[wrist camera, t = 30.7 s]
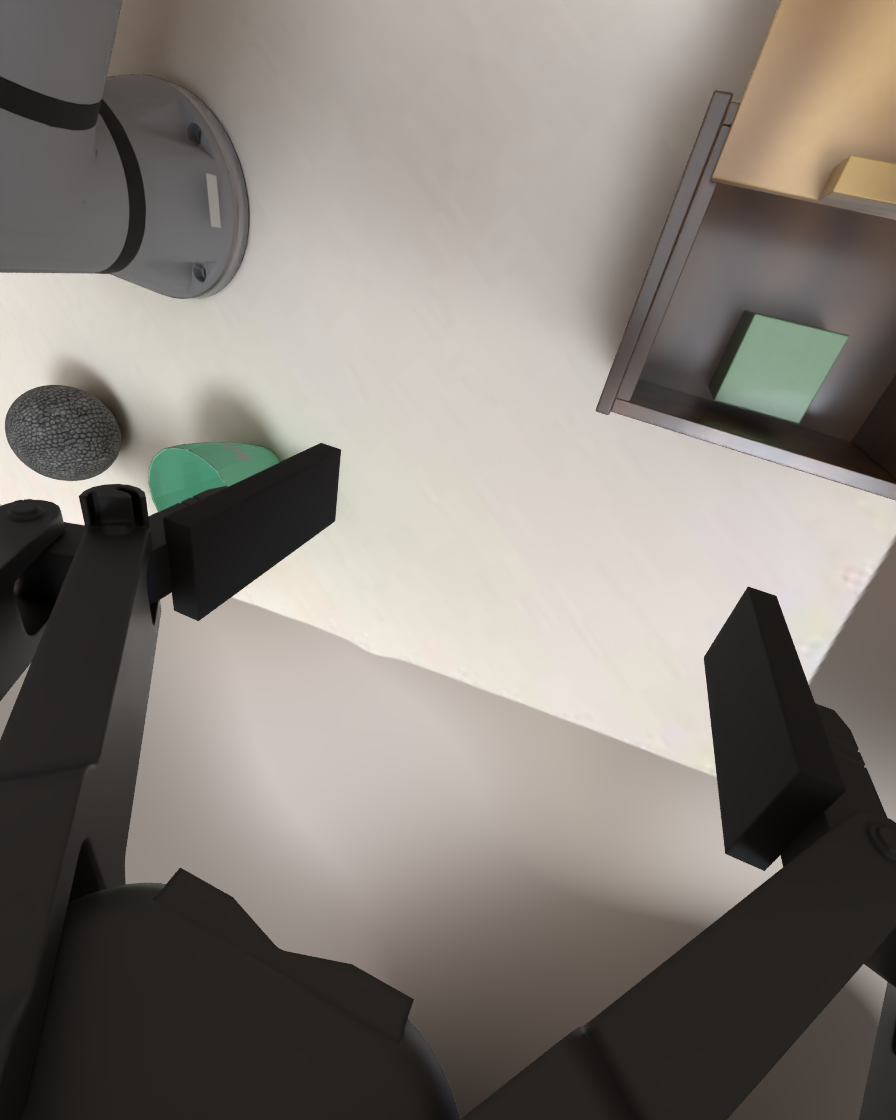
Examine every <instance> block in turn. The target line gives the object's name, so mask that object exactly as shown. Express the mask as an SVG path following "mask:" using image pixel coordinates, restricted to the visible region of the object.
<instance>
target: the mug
mask: <svg viewBox="0 0 896 1120" xmlns="http://www.w3.org/2000/svg"><path fill="white" fill-rule="evenodd" d="M278 463H280V461H279V459H278V458H277V456H276V455H275V454H274V453H273V452H272V451H270V450H269V449H267V448H265V447H260V446H254V445H248V444H242V443H228V442H205V443H194V444H182V445H178V446H173V447H168V448H165V449H162V450H161V451H160V452H159V453H158V454H157V455H155V456H154V457H153V460H152V462H151V465H150V467H149V481H148V484H149V488H150V492H151V496H152V500H153V502H154V504H155V506H156V508H157V510H158V512H160V511H162V510H164V509H166V508H168V507H170V506H173V505H175V504H177V503H180V504H181V502H182V501H184V500H186V499H188V498H190V497H191V498H193V496H195V495H197V494H199V493H201V492H203V491H205V490H208V489H213V488H218V487H223V486H228V487H229V486H231V485H233V484H235V483H237V482H239V481H242V480H244V479H246V478H248V477H250V476H252V475H254V474H256V473H258V472H261V471H263V470H265V469H267V468H269V467H271V466H273V465H275V464H278Z"/></svg>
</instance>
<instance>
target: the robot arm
mask: <svg viewBox="0 0 896 1120" xmlns="http://www.w3.org/2000/svg"><path fill="white" fill-rule="evenodd" d="M121 4H122V0H0V272H7V273H101V274H111V275H114V276H116V277H119V278H121V279H124V280H126V281H129V282H131V283H134V284H136V285H139V286H142V287H144V288H147V289H149V290H152V291H154V292H157V293H159V294H162V295H166V296H169V297H173V298H180V299H184V298H204V297H208V296H211V295H213V294H215V293H217V292H219V291H220V290H222V289H223V288H224V287H225V286H226V285H227V284H228V283H229V282H230V281H231V279H232V278H233V277H234V275H235V273H236V272H237V270H238V268H239V266H240V263H241V261H242V258H243V255H244V252H245V248H246V243H247V236H248V223H249V214H248V200H247V193H246V187H245V182H244V178H243V174H242V170H241V167H240V164H239V161H238V158H237V156H236V153H235V151H234V148H233V146H232V144H231V142H230V140H229V138H228V136H227V134H226V132H225V131H224V129H223V127H222V126H221V124H220V123H219V121H218V120H217V119H216V117H215V116H214V115H213V113H212V112H211V111H210V110H209V109H208V108H207V106H206V105H205V104H204V103H203V102H201V101H200V100H199V99H198V98H197V97H196V96H194V95H193V94H192V93H190V92H189V91H187V90H185V89H184V88H182V87H179V86H177V85H175V84H173V83H170V82H168V81H165V80H163V79H160V78H157V77H154V76H150V75H135V74H132V75H122V76H112V77H107V72H108V67H109V62H110V57H111V53H112V48H113V43H114V38H115V33H116V28H117V23H118V19H119V14H120V9H121ZM340 456H341V449H338V448H335V447H332V446H329V445H326V444H323V443H320V444H318V445H316V446H313V447H311V448H309V449H307V450H305V451H303V452H301V453H299V454H297V455H294V456H292V457H290V458H288V459H286V460H284V461H282V462H280V463H278V464H275V465H273V466H271V467H269V468H267V469H265V470H263V471H261V472H258V473H256V474H254V475H252V476H250V477H248V478H246V479H244V480H242V481H239V482H237V483H235V484H233V485H231V486H229V487H228V486H223V487H218V488H213V489H208V490H205V491H203V492H201V493H199V494H197V495H195V496H193V498H191V497H190V498H188V499H186V500H184V501H182V502H181V504H180V503H177V504H175V505H173V506H170V507H168V508H166V509H164V510H162V511H160V512H157V513H155V514H153V515H151V516H149V517H148V511H147V504H146V497H145V493H144V492H143V491H142V490H141V489H139V488H137V487H133V486H130V485H122V484H109V485H101V486H97V487H92V488H90V489H88V490H86V491H84V492H83V493H82V494H81V495H80V496H79V499H80V504H81V508H82V513H83V518H84V522H85V526H84V525H78V524H72V523H66V522H63V518H62V514H61V510H60V508H59V506H58V505H56V504H54V503H52V502H48V501H43V500H32V499H27V500H24V501H23V500H18V501H14V502H12V503H8V504H5V505H2V506H0V701H1V700H2V698H3V697H4V696H5V695H6V693H7V692H8V691H9V689H10V688H11V687H12V686H13V684H14V683H15V682H16V681H17V679H18V678H19V677H20V676H21V674H22V673H23V672H24V671H25V669H26V668H27V667H28V666H29V664H30V663H31V665H30V667H29V670H28V672H27V675H26V677H25V680H24V682H23V685H22V687H21V690H20V692H19V695H18V698H17V700H16V703H15V705H14V707H13V710H12V712H11V715H10V717H9V720H8V722H7V725H6V727H5V730H4V732H3V735H2V737H1V740H0V1120H727V1119H728V1118H729V1117H730V1115H731V1114H732V1113H733V1112H734V1111H735V1109H737V1107H738V1106H739V1105H740V1104H741V1103H742V1102H743V1101H744V1099H745V1098H746V1097H747V1096H748V1095H749V1094H750V1092H752V1090H753V1089H754V1088H755V1087H756V1086H757V1085H758V1083H759V1082H760V1081H761V1080H762V1079H763V1078H764V1077H765V1076H766V1074H767V1073H768V1072H769V1071H770V1070H771V1069H772V1068H773V1066H774V1065H775V1064H776V1063H777V1062H778V1061H779V1060H780V1058H781V1057H782V1056H783V1055H784V1054H785V1053H786V1052H787V1050H788V1049H789V1048H790V1047H791V1046H792V1045H793V1044H794V1042H795V1041H796V1040H797V1039H798V1038H799V1037H800V1035H801V1034H802V1033H803V1032H804V1031H805V1030H806V1029H807V1028H808V1027H809V1025H810V1024H811V1023H812V1022H813V1021H814V1020H815V1019H816V1017H817V1016H818V1015H819V1014H820V1013H821V1012H822V1011H823V1009H824V1008H825V1007H826V1006H827V1005H828V1004H829V1003H830V1001H831V1000H832V999H833V998H834V997H835V995H836V994H837V993H838V992H839V991H840V990H841V989H842V988H843V987H844V985H845V984H846V983H847V982H848V981H849V980H850V978H851V977H852V976H853V975H854V974H855V973H856V972H857V971H858V969H859V968H860V967H861V966H862V965H863V964H865V965H866V966H868V967H869V968H870V969H872V970H873V971H874V972H876V973H877V974H878V975H880V976H881V977H882V978H884V979H885V980H886V981H888V983H887V988H886V993H885V998H884V1002H883V1007H882V1012H881V1017H880V1022H879V1026H878V1031H877V1036H876V1041H875V1046H874V1050H873V1056H872V1060H871V1065H870V1070H869V1074H868V1079H867V1084H866V1089H865V1094H864V1098H863V1103H862V1108H861V1113H860V1118H859V1120H896V823H895V822H894V821H892V820H891V819H888V818H887V816H886V813H885V811H884V809H883V807H882V804H881V802H880V799H879V797H878V794H877V792H876V790H875V787H874V785H873V782H872V780H871V778H870V775H869V773H868V771H867V769H866V768H864V765H865V763H864V761H863V759H862V756H861V754H860V752H858V747H857V744H856V742H855V739H854V737H853V735H852V732H851V730H850V729H849V728H848V727H847V725H846V724H845V723H844V722H843V720H842V719H841V718H840V717H839V716H838V714H837V713H836V712H835V711H834V710H832V709H829V708H826V707H824V706H821V705H818V704H816V703H815V702H814V699H813V696H812V693H811V691H810V688H809V685H808V682H807V680H806V677H805V674H804V671H803V668H802V666H801V663H800V660H799V657H798V655H797V652H796V649H795V646H794V644H793V641H792V638H791V635H790V632H789V630H788V627H787V624H786V621H785V619H784V616H783V613H782V610H781V608H780V605H779V602H778V599H777V597H776V596H775V595H772V594H769V593H766V592H763V591H760V590H757V589H754V588H751V587H747V589H746V591H745V592H744V594H743V595H742V597H741V599H740V600H739V602H738V603H737V605H736V607H735V608H734V610H733V611H732V613H731V615H730V616H729V618H728V619H727V621H726V623H725V624H724V626H723V627H722V629H721V631H720V632H719V634H718V635H717V637H716V639H715V640H714V642H713V643H712V645H711V647H710V648H709V650H708V651H707V653H706V655H705V656H704V664H705V673H706V682H707V691H708V700H709V709H710V718H711V727H712V737H713V746H714V755H715V764H716V773H717V781H718V791H719V800H720V809H721V819H722V827H723V837H724V846H725V853H726V854H727V855H730V856H732V857H734V858H736V859H739V860H741V861H743V862H746V863H748V864H750V865H752V866H754V867H757V868H759V869H762V870H764V871H765V870H766V869H767V868H768V867H769V866H770V865H771V864H772V863H773V862H774V861H775V860H776V859H777V858H778V857H779V856H780V855H781V859H782V864H783V868H782V869H781V870H779V871H778V872H777V873H776V874H774V875H773V876H772V877H771V878H769V879H768V880H767V881H766V882H764V883H763V884H762V885H761V886H759V887H758V888H757V889H755V890H754V891H753V892H752V893H750V894H749V895H748V896H747V897H746V898H744V899H743V900H742V901H741V902H739V903H738V904H737V905H735V906H734V907H733V908H732V909H730V910H729V911H728V912H727V913H725V914H724V915H723V916H722V917H720V918H719V919H718V920H717V921H715V922H714V923H713V924H712V925H710V926H709V927H708V928H706V929H705V930H704V931H703V932H701V933H700V934H699V935H698V936H696V937H695V938H694V939H693V940H691V941H690V942H689V943H688V944H686V945H685V946H684V947H683V948H681V949H680V950H679V951H678V952H676V953H675V954H674V955H673V956H671V957H670V958H669V959H668V960H666V961H665V962H664V963H663V964H661V965H660V966H659V967H657V968H656V969H655V970H654V971H652V972H651V973H650V974H649V975H647V976H646V977H645V978H644V979H642V980H641V981H640V982H639V983H637V984H636V985H635V986H634V987H632V988H631V989H630V990H629V991H627V992H626V993H625V994H624V995H623V996H621V997H620V998H619V999H617V1000H616V1001H615V1002H614V1003H612V1004H611V1005H610V1006H609V1007H607V1008H606V1009H605V1010H604V1011H602V1012H601V1013H600V1014H599V1015H597V1016H596V1017H595V1018H593V1019H592V1020H591V1021H589V1022H588V1023H587V1024H586V1025H584V1026H581V1027H579V1028H577V1029H575V1030H574V1031H572V1032H571V1033H570V1034H568V1035H567V1036H566V1037H564V1038H563V1039H562V1040H560V1041H559V1042H558V1043H556V1044H555V1045H554V1046H553V1047H551V1048H550V1049H549V1050H548V1051H546V1052H545V1053H544V1054H543V1055H541V1056H540V1057H539V1058H538V1059H536V1060H535V1061H534V1062H532V1063H531V1064H530V1065H529V1066H527V1067H526V1068H525V1069H524V1070H523V1071H521V1072H520V1073H519V1074H517V1075H516V1076H515V1077H513V1078H512V1079H511V1080H510V1081H508V1082H507V1083H506V1084H505V1085H503V1086H502V1087H501V1088H500V1089H498V1090H497V1091H496V1092H494V1093H493V1094H492V1095H491V1096H489V1097H488V1098H487V1099H486V1100H484V1101H483V1102H482V1103H481V1104H479V1105H478V1106H477V1107H476V1108H474V1109H473V1110H472V1111H471V1112H469V1113H468V1114H467V1115H465V1116H464V1117H463V1118H462V1119H461V1118H460V1115H459V1112H458V1108H457V1105H456V1102H455V1098H454V1095H453V1092H452V1089H451V1087H450V1085H449V1082H448V1080H447V1077H446V1075H445V1073H444V1070H443V1068H442V1066H441V1064H440V1063H439V1061H438V1059H437V1057H436V1055H435V1053H434V1052H433V1050H432V1048H431V1047H430V1045H429V1044H428V1043H427V1041H426V1040H425V1038H424V1037H423V1036H422V1034H421V1033H420V1031H419V1030H418V1029H417V1028H416V1027H415V1026H414V1025H413V1024H412V1023H411V1022H410V1021H409V1019H408V1015H409V1012H410V1009H411V1006H412V1003H413V1000H414V999H412V998H411V997H408V996H407V995H405V994H403V993H401V992H400V991H398V990H396V989H395V988H392V987H391V986H389V985H387V984H386V983H384V982H382V981H380V980H378V979H377V978H375V977H373V976H371V975H370V974H368V973H366V972H364V971H363V970H361V969H359V968H357V967H355V966H354V965H352V964H347V963H342V962H337V961H332V960H327V959H322V958H317V957H312V956H307V955H301V954H297V953H291V952H287V951H283V950H281V949H279V948H278V947H277V946H276V945H275V944H274V943H273V942H272V941H271V940H270V939H269V938H268V937H267V935H266V934H265V933H264V932H263V931H262V930H261V929H260V928H259V927H258V925H257V924H256V923H255V922H254V921H253V920H252V918H251V917H250V916H249V915H248V914H247V913H246V912H245V911H244V909H243V908H242V907H241V906H240V905H239V904H238V903H237V901H236V900H235V899H234V898H233V897H231V896H230V895H228V894H226V893H224V892H223V891H221V890H219V889H217V888H215V887H214V886H212V885H210V884H208V883H206V882H205V881H203V880H201V879H199V878H198V877H196V876H194V875H192V874H190V873H189V872H187V871H185V870H183V869H182V868H179V870H178V871H177V872H176V873H175V875H174V876H173V877H172V878H171V879H170V880H169V882H168V883H167V884H162V883H137V884H126V885H125V854H126V846H127V839H128V832H129V825H130V819H131V812H132V805H133V798H134V792H135V785H136V777H137V771H138V765H139V758H140V751H141V744H142V737H143V731H144V724H145V717H146V710H147V704H148V697H149V690H150V683H151V676H152V669H153V663H154V656H155V650H156V642H157V635H158V628H159V622H160V615H161V605H160V599H162V598H163V597H165V596H166V595H168V594H169V593H171V592H172V597H173V605H174V611H177V612H179V613H181V614H183V615H186V616H188V617H190V618H192V619H195V620H197V621H199V620H201V619H202V618H203V617H205V616H206V615H207V614H209V613H210V612H211V611H213V610H214V609H216V608H217V607H218V606H219V605H221V604H222V603H224V602H225V601H227V600H228V599H229V598H231V597H232V596H233V595H235V594H236V593H237V592H239V591H240V590H242V589H243V588H244V587H246V586H247V585H248V584H250V583H251V582H253V581H254V580H255V579H257V578H258V577H259V576H261V575H262V574H263V573H265V572H266V571H268V570H269V569H270V568H272V567H273V566H274V565H276V564H277V563H278V562H280V561H281V560H283V559H284V558H285V557H287V556H288V555H289V554H291V553H292V552H294V551H295V550H296V549H298V548H299V547H300V546H302V545H303V544H304V543H306V542H307V541H309V540H310V539H311V538H313V537H314V536H315V535H317V534H318V533H319V532H321V531H322V530H324V529H325V528H326V527H328V526H329V525H330V524H332V523H333V522H334V521H335V515H336V503H337V491H338V479H339V467H340Z"/></svg>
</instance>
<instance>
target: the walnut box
mask: <svg viewBox="0 0 896 1120" xmlns="http://www.w3.org/2000/svg"><path fill="white" fill-rule="evenodd" d="M732 96H733V94H732V93H729V92H724V91H718V90H716V91H714V93H713V95H712V98H711V100H710V103H709V106H708V108H707V111H706V114H705V117H704V119H703V122H702V125H701V127H700V130H699V133H698V135H697V138H696V141H695V144H694V146H693V149H692V152H691V154H690V157H689V160H688V162H687V165H686V168H685V170H684V173H683V176H682V179H681V181H680V184H679V187H678V189H677V192H676V195H675V197H674V200H673V203H672V205H671V208H670V211H669V214H668V216H667V219H666V222H665V224H664V227H663V230H662V232H661V235H660V238H659V240H658V243H657V246H656V249H655V251H654V254H653V257H652V259H651V262H650V265H649V267H648V270H647V273H646V275H645V278H644V281H643V284H642V286H641V289H640V292H639V294H638V297H637V300H636V302H635V305H634V308H633V311H632V313H631V316H630V319H629V321H628V324H627V327H626V329H625V332H624V335H623V337H622V340H621V343H620V346H619V348H618V351H617V354H616V356H615V359H614V362H613V364H612V367H611V370H610V372H609V375H608V378H607V381H606V383H605V386H604V389H603V391H602V394H601V397H600V399H599V402H598V405H597V407H596V411H597V412H599V413H603V414H606V415H609V414H610V412H614V413H617V414H621V415H624V416H627V417H630V418H633V419H637V420H640V421H643V422H646V423H650V424H653V425H656V426H659V427H662V428H666V429H669V430H672V431H675V432H678V433H682V434H685V435H688V436H691V437H694V438H698V439H701V440H704V441H707V442H710V443H714V444H717V445H720V446H723V447H726V448H730V449H733V450H736V451H739V452H742V453H746V454H749V455H752V456H755V457H758V458H762V459H765V460H768V461H771V462H775V463H778V464H781V465H784V466H787V467H791V468H794V469H797V470H800V471H803V472H807V473H810V474H813V475H816V476H819V477H823V478H826V479H829V480H832V481H835V482H839V483H842V484H845V485H848V486H851V487H855V488H858V489H861V490H864V491H867V492H871V493H874V494H877V495H880V496H884V497H887V498H890V499H893V500H896V220H894V219H889V218H884V217H880V216H875V215H870V214H865V213H861V212H856V211H851V210H846V209H842V208H837V207H832V206H827V205H823V204H818V203H813V202H808V201H804V200H799V199H794V198H790V197H785V196H780V195H775V194H771V193H766V192H761V191H756V190H752V189H747V188H742V187H737V186H733V185H728V184H723V183H718V182H714V181H711V180H710V178H711V176H712V173H713V170H714V168H715V165H716V163H717V160H718V158H719V155H720V153H721V150H722V148H723V145H724V143H725V140H726V138H727V135H728V133H729V130H730V128H731V125H732V122H733V120H734V117H735V115H736V112H737V110H738V107H739V105H740V103H736V102H731V99H732ZM730 102H731V103H730ZM723 120H724V121H723ZM711 151H712V152H711ZM704 169H705V170H704ZM692 200H693V201H692ZM685 218H686V219H685ZM673 249H674V250H673ZM666 267H667V268H666ZM654 298H655V299H654ZM745 310H747V311H752V312H756V313H760V314H764V315H768V316H772V317H776V318H781V319H785V320H789V321H793V322H797V323H801V324H805V325H810V326H814V327H818V328H822V329H826V330H830V331H834V332H838V333H841V334H845V335H848V336H849V339H848V340H847V342H846V344H845V345H844V347H843V349H842V351H841V352H840V354H839V356H838V358H837V359H836V361H835V363H834V365H833V366H832V368H831V370H830V371H829V373H828V375H827V377H826V378H825V380H824V382H823V384H822V385H821V387H820V389H819V391H818V392H817V394H816V396H815V397H814V399H813V401H812V403H811V404H810V406H809V408H808V410H807V411H806V413H805V415H804V417H803V418H802V420H801V422H800V423H799V424H795V423H792V422H788V421H785V420H781V419H777V418H774V417H770V416H767V415H763V414H760V413H756V412H752V411H749V410H745V409H742V408H738V407H735V406H731V405H728V404H724V403H720V402H717V401H714V399H713V397H712V394H711V392H710V389H709V385H710V383H711V381H712V379H713V377H714V375H715V372H716V370H717V368H718V366H719V364H720V362H721V360H722V357H723V355H724V353H725V351H726V349H727V347H728V344H729V342H730V340H731V338H732V336H733V334H734V331H735V329H736V327H737V325H738V323H739V321H740V319H741V316H742V314H743V312H744V311H745ZM647 316H648V317H647ZM635 347H636V348H635ZM628 365H629V366H628ZM616 396H617V397H616Z"/></svg>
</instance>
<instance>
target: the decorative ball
mask: <svg viewBox="0 0 896 1120" xmlns="http://www.w3.org/2000/svg"><path fill="white" fill-rule="evenodd" d="M5 432H6V437H7V440H8V443H9V445H10V447H11V449H12V450H13V452H14V453H15V454H16V456H17V457H18V458H19V459H20V460H21V461H22V462H23V463H24V464H25V465H27V466H28V467H29V468H31V469H32V470H34V471H35V472H37V473H39V474H41V475H44V476H46V477H49V478H53V479H58V480H65V481H78V480H85V479H89V478H92V477H95V476H97V475H99V474H101V473H102V472H104V471H105V470H107V469H108V468H109V467H110V466H111V465H112V464H113V462H114V461H115V459H116V458H117V456H118V453H119V451H120V447H121V433H120V429H119V426H118V423H117V421H116V419H115V417H114V416H113V414H112V413H111V411H110V410H109V409H108V408H107V407H106V406H105V405H104V404H103V403H102V402H101V401H100V400H98V399H97V398H96V397H94V396H93V395H91V394H89V393H87V392H85V391H83V390H80V389H77V388H73V387H69V386H62V385H47V386H41V387H37V388H34V389H31V390H29V391H27V392H25V393H24V394H22V395H21V396H20V397H18V398H17V399H16V400H15V401H14V403H13V404H12V405H11V407H10V408H9V410H8V413H7V416H6V420H5Z"/></svg>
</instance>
